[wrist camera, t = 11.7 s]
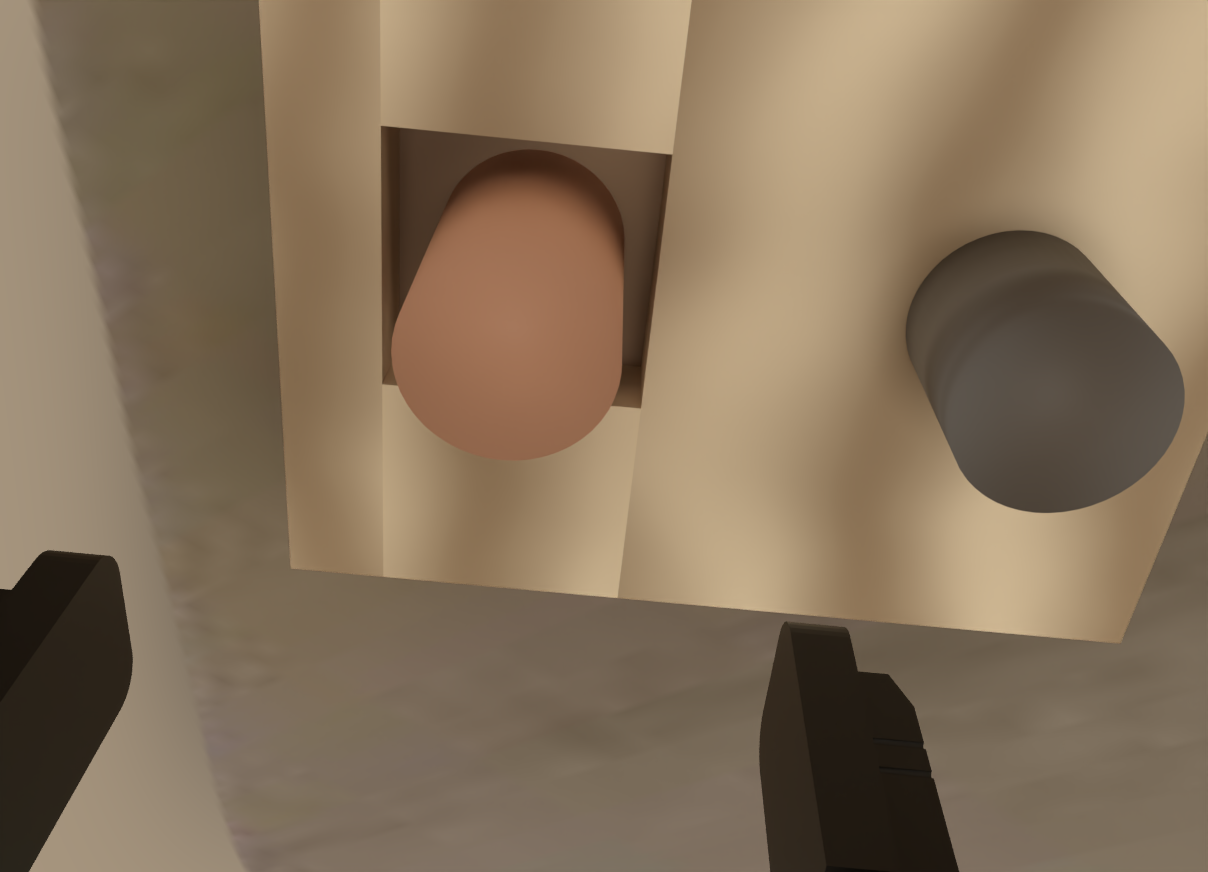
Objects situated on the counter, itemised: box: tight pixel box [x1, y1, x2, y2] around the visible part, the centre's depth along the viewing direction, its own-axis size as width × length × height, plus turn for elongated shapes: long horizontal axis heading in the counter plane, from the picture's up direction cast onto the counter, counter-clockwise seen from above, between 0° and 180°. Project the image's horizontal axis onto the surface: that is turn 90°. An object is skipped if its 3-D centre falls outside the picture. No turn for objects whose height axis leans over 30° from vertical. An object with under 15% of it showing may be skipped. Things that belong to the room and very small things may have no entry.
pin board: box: [259, 0, 1208, 643], centre depth 23 cm, size 20×16×7 cm
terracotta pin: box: [391, 149, 625, 461], centre depth 23 cm, size 4×4×6 cm
